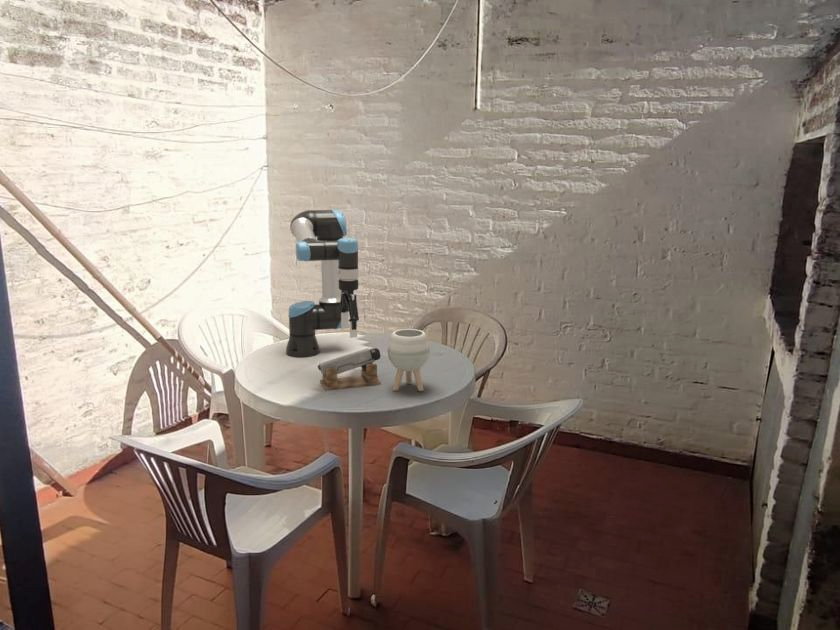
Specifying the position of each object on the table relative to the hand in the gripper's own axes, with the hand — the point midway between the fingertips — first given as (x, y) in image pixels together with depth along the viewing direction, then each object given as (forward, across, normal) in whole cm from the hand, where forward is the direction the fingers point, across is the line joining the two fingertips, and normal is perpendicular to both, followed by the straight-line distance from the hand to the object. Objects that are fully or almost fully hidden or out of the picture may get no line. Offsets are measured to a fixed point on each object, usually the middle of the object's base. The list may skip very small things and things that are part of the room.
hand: (349, 332), depth 248 cm
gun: (+17, 0, 0) cm, 17 cm away
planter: (+21, +14, +20) cm, 32 cm away
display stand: (+21, 0, 0) cm, 21 cm away
